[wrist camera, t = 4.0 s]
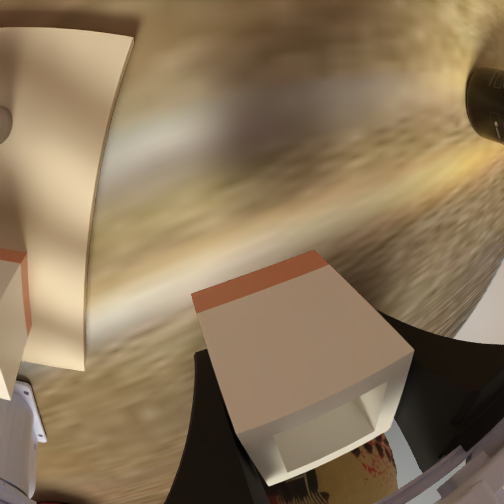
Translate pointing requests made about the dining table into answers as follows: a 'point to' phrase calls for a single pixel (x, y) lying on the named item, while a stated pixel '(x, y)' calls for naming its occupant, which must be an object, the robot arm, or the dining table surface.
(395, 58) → the dining table surface
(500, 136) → the supplement bottle
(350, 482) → the ceramic jug
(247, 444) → the sleeve
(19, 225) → the pin board
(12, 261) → the seated sleeve
